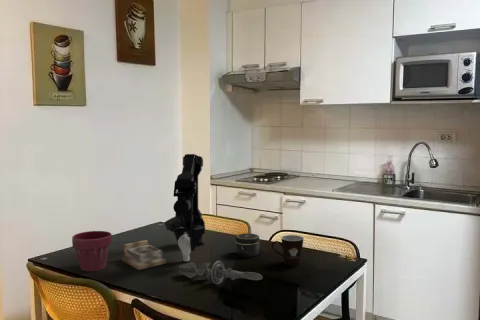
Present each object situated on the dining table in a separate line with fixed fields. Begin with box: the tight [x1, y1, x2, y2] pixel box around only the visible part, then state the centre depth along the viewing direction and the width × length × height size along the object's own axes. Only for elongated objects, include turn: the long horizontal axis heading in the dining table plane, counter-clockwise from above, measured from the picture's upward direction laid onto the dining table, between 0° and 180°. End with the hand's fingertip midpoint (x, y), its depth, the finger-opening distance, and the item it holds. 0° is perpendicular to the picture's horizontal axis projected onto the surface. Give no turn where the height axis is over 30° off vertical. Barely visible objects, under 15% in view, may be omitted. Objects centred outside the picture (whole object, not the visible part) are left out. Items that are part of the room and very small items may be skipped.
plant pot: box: [71, 230, 113, 272], centre depth 174 cm, size 14×14×13 cm
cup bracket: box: [121, 239, 167, 271], centre depth 181 cm, size 12×14×6 cm
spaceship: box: [177, 260, 264, 285], centre depth 157 cm, size 8×35×8 cm
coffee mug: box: [271, 234, 304, 267], centre depth 179 cm, size 12×9×10 cm
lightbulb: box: [177, 233, 192, 263], centre depth 181 cm, size 6×6×11 cm
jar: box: [234, 232, 260, 258], centre depth 191 cm, size 10×10×8 cm
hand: (186, 248), depth 181 cm, fingers open, 9 cm apart
